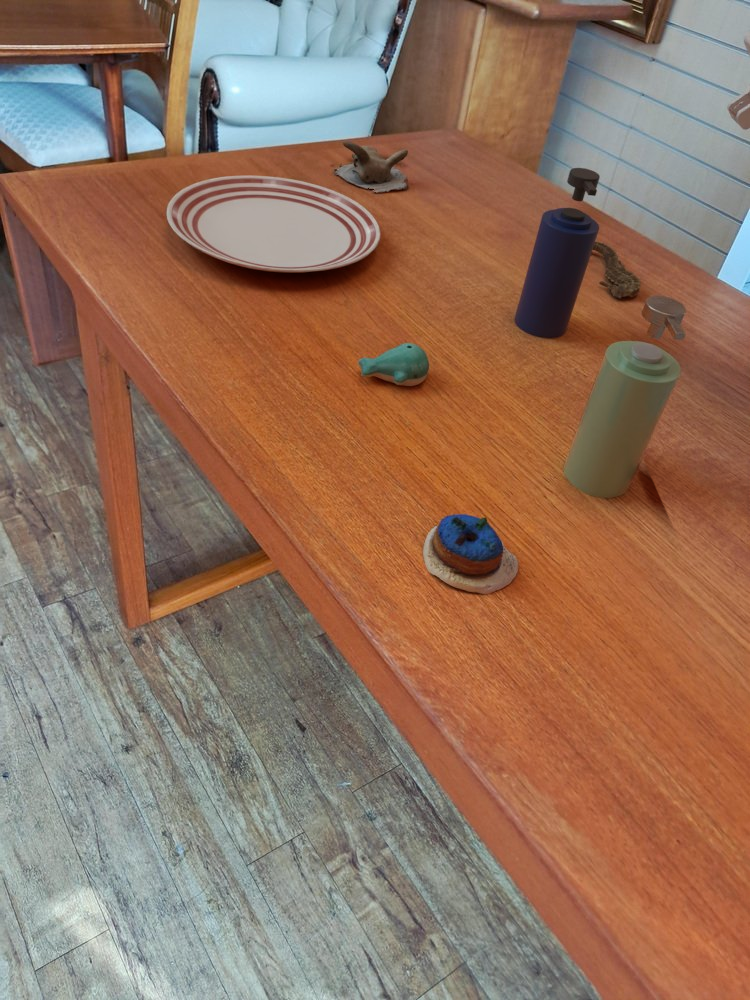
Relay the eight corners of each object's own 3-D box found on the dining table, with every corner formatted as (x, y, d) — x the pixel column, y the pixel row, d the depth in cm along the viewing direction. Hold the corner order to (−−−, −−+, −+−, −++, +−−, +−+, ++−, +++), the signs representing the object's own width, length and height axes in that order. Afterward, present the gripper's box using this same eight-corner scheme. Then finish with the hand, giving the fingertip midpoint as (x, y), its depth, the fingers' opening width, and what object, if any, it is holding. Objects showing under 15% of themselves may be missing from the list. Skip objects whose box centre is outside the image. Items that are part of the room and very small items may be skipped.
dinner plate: (392, 219, 114) (396, 196, 111) (356, 309, 94) (359, 283, 91) (208, 183, 115) (208, 160, 113) (133, 265, 95) (131, 238, 93)
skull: (415, 195, 123) (424, 155, 120) (352, 191, 117) (360, 150, 114) (382, 173, 130) (390, 135, 126) (321, 169, 124) (327, 129, 120)
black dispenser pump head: (588, 195, 87) (595, 169, 85) (600, 216, 83) (609, 189, 81) (560, 191, 87) (567, 166, 85) (571, 213, 83) (579, 186, 81)
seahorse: (600, 248, 114) (604, 236, 113) (648, 301, 104) (652, 288, 103) (565, 251, 113) (568, 239, 112) (609, 304, 103) (613, 291, 102)
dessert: (402, 558, 64) (438, 494, 62) (426, 552, 70) (460, 494, 69) (486, 613, 61) (526, 548, 60) (503, 602, 67) (539, 543, 66)
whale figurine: (430, 393, 82) (437, 363, 80) (361, 392, 81) (366, 361, 79) (420, 362, 87) (426, 332, 84) (354, 361, 85) (358, 330, 83)
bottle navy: (560, 313, 99) (594, 203, 89) (571, 340, 94) (608, 227, 85) (510, 308, 98) (539, 197, 89) (519, 336, 94) (551, 221, 84)
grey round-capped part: (666, 327, 67) (678, 297, 65) (688, 363, 63) (702, 332, 61) (630, 323, 66) (641, 293, 64) (649, 360, 62) (662, 329, 60)
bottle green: (619, 456, 78) (671, 333, 69) (637, 500, 74) (696, 375, 64) (556, 452, 78) (601, 327, 68) (571, 496, 73) (621, 368, 64)
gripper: (830, -52, 72) (686, 55, 78) (953, 3, 57) (763, 129, 63) (850, 11, 75) (711, 108, 81) (971, 77, 60) (790, 190, 66)
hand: (734, 118), depth 72 cm, fingers closed
